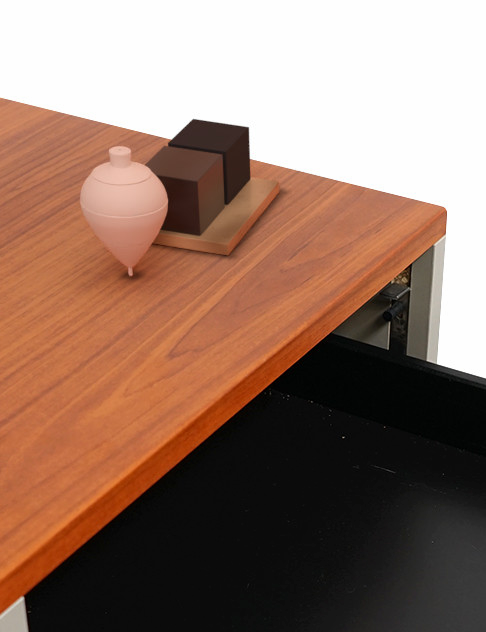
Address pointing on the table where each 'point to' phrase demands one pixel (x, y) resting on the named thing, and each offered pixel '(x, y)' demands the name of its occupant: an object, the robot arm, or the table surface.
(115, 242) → the spinning top
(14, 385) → the table surface
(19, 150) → the table surface
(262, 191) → the board
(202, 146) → the black cube
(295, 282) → the table surface
